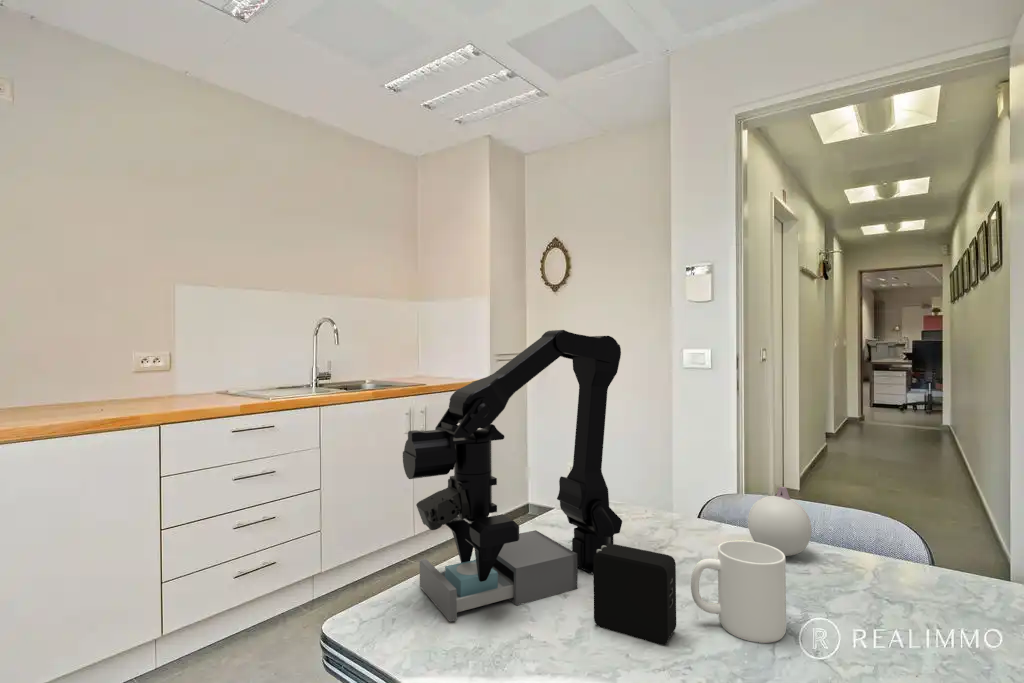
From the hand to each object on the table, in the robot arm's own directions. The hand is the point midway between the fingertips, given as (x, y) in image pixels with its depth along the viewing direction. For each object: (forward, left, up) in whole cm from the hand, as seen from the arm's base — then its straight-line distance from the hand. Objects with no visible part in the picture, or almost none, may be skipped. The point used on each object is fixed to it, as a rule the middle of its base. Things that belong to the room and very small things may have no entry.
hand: (473, 572), depth 81 cm
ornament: (-55, +13, -4) cm, 57 cm away
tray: (0, 0, -3) cm, 3 cm away
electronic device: (-15, +20, -4) cm, 25 cm away
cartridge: (0, 0, -2) cm, 2 cm away
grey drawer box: (-9, 0, -3) cm, 9 cm away
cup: (-27, +26, -4) cm, 38 cm away
